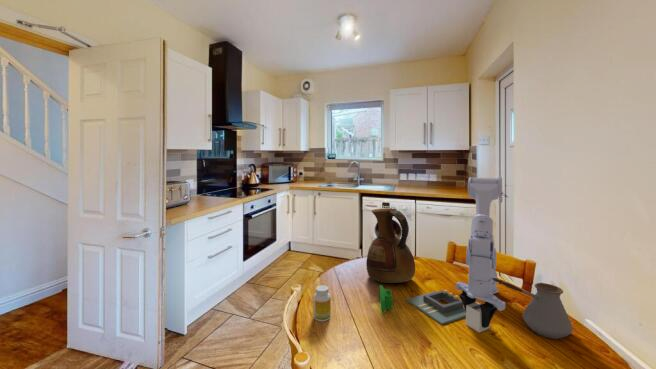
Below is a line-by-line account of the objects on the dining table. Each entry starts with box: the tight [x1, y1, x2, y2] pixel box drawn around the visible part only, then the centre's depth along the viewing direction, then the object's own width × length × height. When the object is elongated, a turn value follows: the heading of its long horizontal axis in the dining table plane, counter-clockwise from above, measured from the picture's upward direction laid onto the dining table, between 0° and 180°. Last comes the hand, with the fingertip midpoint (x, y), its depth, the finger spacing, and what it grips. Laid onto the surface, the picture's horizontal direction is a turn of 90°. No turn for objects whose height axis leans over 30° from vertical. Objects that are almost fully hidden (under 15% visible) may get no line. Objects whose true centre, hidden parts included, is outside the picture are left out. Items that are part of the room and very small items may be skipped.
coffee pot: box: [491, 278, 574, 340], centre depth 80 cm, size 21×12×15 cm, turn 82°
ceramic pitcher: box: [365, 207, 416, 284], centre depth 114 cm, size 20×20×30 cm
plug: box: [465, 301, 491, 333], centre depth 82 cm, size 4×4×6 cm
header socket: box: [405, 289, 466, 326], centre depth 93 cm, size 14×16×4 cm
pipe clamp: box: [379, 284, 394, 314], centre depth 95 cm, size 11×4×5 cm, turn 173°
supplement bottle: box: [313, 284, 332, 322], centre depth 87 cm, size 5×5×10 cm
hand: (477, 321), depth 82 cm, fingers closed on plug, 4 cm apart
